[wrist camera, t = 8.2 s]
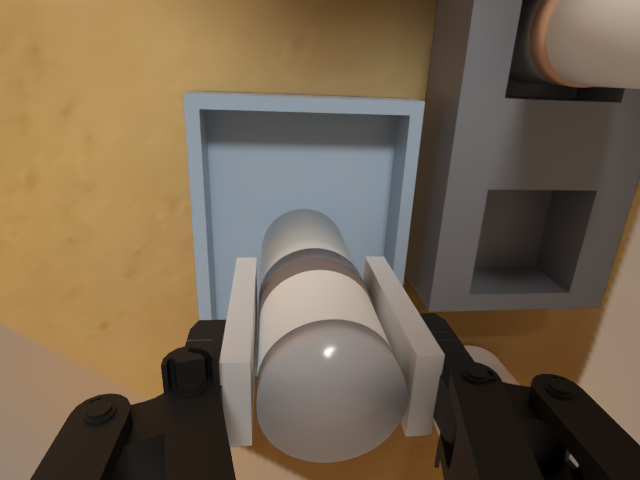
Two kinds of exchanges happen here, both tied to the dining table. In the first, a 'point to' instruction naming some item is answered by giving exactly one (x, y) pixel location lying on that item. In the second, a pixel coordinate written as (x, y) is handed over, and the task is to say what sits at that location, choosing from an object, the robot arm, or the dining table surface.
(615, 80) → the fuse
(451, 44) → the fuse block
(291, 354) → the cylinder
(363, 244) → the parts tray
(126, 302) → the dining table surface
